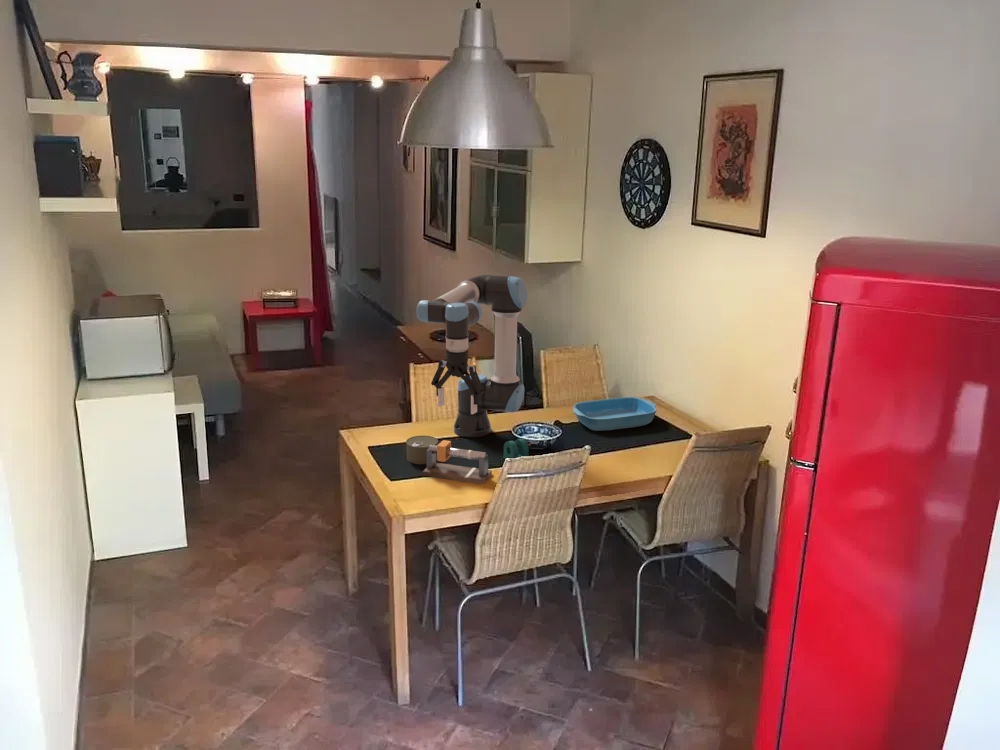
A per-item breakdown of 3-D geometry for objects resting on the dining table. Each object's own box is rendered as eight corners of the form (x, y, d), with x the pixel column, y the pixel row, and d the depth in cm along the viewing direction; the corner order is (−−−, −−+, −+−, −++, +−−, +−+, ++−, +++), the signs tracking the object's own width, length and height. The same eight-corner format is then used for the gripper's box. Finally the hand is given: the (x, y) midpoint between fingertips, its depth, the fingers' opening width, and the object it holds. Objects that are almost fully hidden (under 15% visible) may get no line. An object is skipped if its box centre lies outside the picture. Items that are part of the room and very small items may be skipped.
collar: (443, 455, 300) (443, 440, 298) (451, 456, 299) (450, 441, 298) (437, 460, 295) (437, 445, 293) (445, 462, 294) (444, 446, 292)
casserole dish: (585, 436, 336) (586, 419, 333) (563, 418, 356) (564, 402, 354) (665, 426, 347) (666, 410, 345) (640, 409, 367) (640, 394, 365)
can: (444, 456, 314) (444, 439, 312) (426, 467, 304) (425, 449, 302) (418, 449, 320) (418, 433, 318) (399, 460, 310) (399, 443, 308)
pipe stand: (432, 465, 305) (432, 440, 302) (491, 474, 298) (491, 448, 295) (422, 475, 297) (422, 448, 294) (483, 484, 290) (483, 457, 287)
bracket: (503, 458, 312) (503, 439, 310) (518, 455, 316) (518, 436, 313) (530, 475, 298) (530, 455, 295) (545, 471, 301) (546, 451, 299)
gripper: (420, 346, 281) (421, 405, 287) (482, 357, 268) (482, 419, 274) (433, 341, 287) (434, 399, 293) (494, 352, 274) (494, 412, 281)
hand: (457, 409), depth 284 cm, fingers open, 13 cm apart
